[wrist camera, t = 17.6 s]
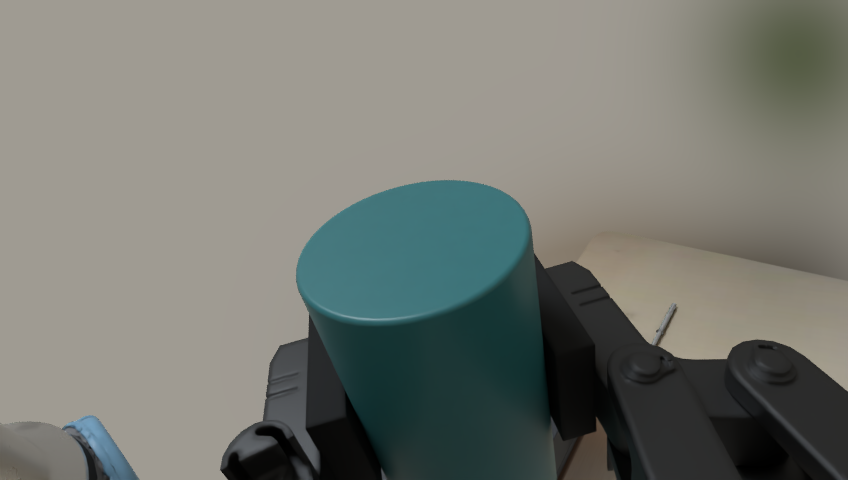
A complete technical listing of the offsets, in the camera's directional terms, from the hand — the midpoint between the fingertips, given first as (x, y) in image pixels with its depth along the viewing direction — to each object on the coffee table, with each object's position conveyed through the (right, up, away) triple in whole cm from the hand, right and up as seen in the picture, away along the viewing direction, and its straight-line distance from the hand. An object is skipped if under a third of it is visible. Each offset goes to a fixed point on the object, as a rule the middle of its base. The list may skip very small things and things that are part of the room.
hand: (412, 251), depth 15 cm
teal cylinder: (+2, -8, -1) cm, 8 cm away
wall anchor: (+30, -11, +46) cm, 56 cm away
